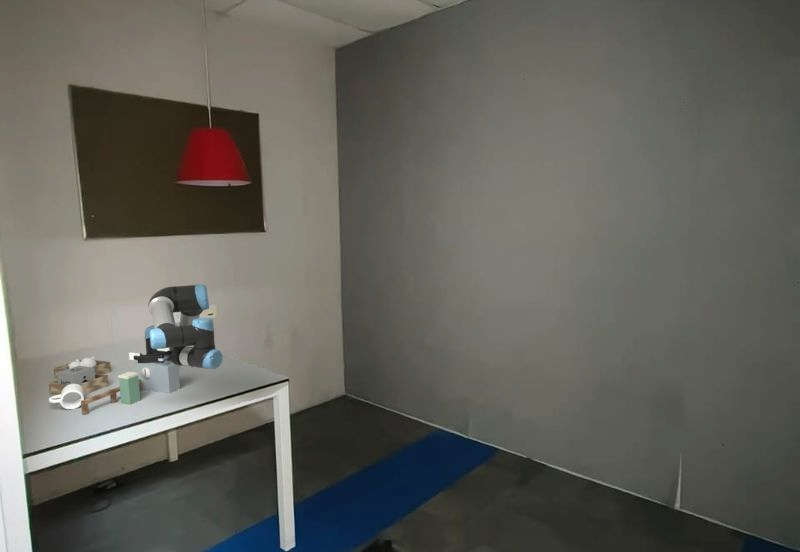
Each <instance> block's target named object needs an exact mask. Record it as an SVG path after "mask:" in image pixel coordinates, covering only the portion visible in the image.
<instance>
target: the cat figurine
mask: <svg viewBox="0 0 800 552" xmlns="http://www.w3.org/2000/svg"><path fill="white" fill-rule="evenodd" d="M81 360H82V361H81V362H80V361H79V359H75V361H74V360H73V361H72V362H69V363H70V364H69V363H67V364H68V367H69V369H70V368H73V367H76V366H85V367H94V366H97V363H96V361H95V360H96V358H95V356H90V357H84V358H82V359H81Z"/></svg>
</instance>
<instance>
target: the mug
mask: <svg viewBox="0 0 800 552" xmlns="http://www.w3.org/2000/svg"><path fill="white" fill-rule="evenodd" d="M82 400H85V395H84V389H83V387H82V386H80V385H79V384H69V385H67V386H66V387H64V388H63V390H62V392H61V394H60V395H53V396H50V397H49V398H48V403H50V404H59V405H60V406H61V407H62V408H63V409H65V410H69V409H72V410H77V409H78V408H79V407H80V408H81V401H82Z"/></svg>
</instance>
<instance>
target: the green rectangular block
mask: <svg viewBox="0 0 800 552" xmlns="http://www.w3.org/2000/svg"><path fill="white" fill-rule="evenodd" d="M138 375H139V373H137V372H134V371H127V372H124V373H122V374H118V381H119V386H120V391H119V394H120V403H122V404H123V405H127V406H128V405H129V406H131V405H133V404H136V403H138V402H140V401H141V392H140V391H139V378H138ZM137 401H138V402H137ZM135 402H136V403H135ZM122 404H121V405H122Z"/></svg>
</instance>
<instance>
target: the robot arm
mask: <svg viewBox="0 0 800 552" xmlns="http://www.w3.org/2000/svg"><path fill="white" fill-rule="evenodd" d="M147 306H148V311H149V313H150V314H151V316H152V322H153V324H152V325H150V326H148V327H146V329H145V330H144V339H145V354H144V353H142V352H140V353H139V352H138V353H137V352H128V357H129V360H130V361H136V362H137V363H164V361H171V362H173V363H174V364H175V365H178V366H180V367H181V366H184V367H190V368H199V369H205V370H216V369H218V368H219V367H220V366H221V364H222V362H223V359H224V358H223V354H222V351H220V350H219V349H217V348H216V343H215V326H214V320H213V319H212V318H210V317H200V315H201V314H202V313H203V312H204V311H206V310H209V309H210V302H209V296H208V290H207V285H205V284H198V283H197V284H193V285H192V284H191V285H190V284H189V285H176V286H175V285H174V286H167V287H164V288H162V289H160V290H158V291H156V292H155V293H154V294H153V295H152V296H151V297H150V299H149V301H148V305H147ZM174 313H180V317H179V322H178V323H177V324H176V321H175V317H174Z"/></svg>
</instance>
